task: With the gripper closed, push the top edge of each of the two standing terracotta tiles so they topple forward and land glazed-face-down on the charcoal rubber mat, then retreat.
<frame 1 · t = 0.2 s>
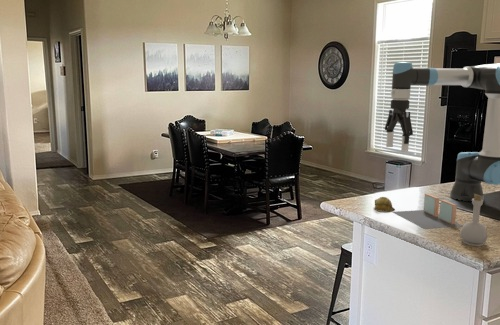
hand: (396, 149, 201), 27 cm above the countertop, fingers open, 13 cm apart
potion bottle: (473, 243, 166), on the countertop
seashell: (384, 210, 206), on the countertop
mat: (426, 220, 192), on the countertop
tile a: (430, 213, 199), point 1 cm above the countertop, touching mat
tile b: (446, 221, 189), point 1 cm above the countertop, touching mat
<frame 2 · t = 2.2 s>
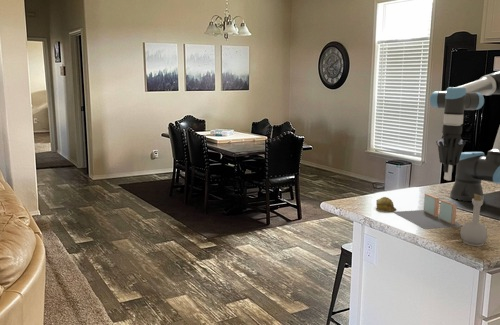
hand: (447, 179, 198), 15 cm above the countertop, fingers closed
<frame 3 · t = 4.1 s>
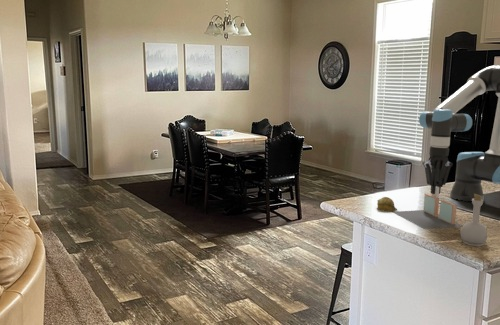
hand: (434, 201, 199), 6 cm above the countertop, fingers closed
tile a: (430, 213, 199), point 1 cm above the countertop, touching gripper, mat
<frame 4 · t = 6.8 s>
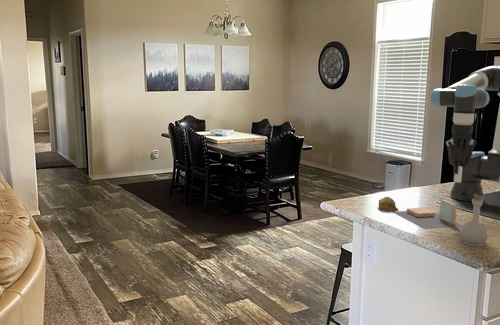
hand: (457, 181, 189), 16 cm above the countertop, fingers closed
tile a: (428, 211, 199), point 2 cm above the countertop, tilted 90°, touching mat
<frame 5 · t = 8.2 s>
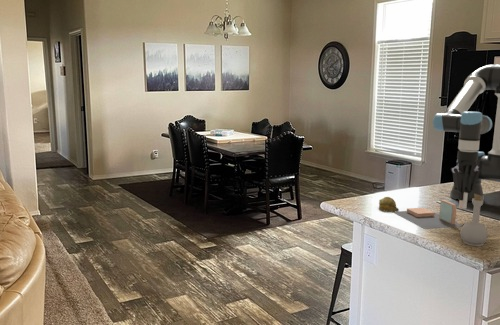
hand: (462, 207, 189), 6 cm above the countertop, fingers closed
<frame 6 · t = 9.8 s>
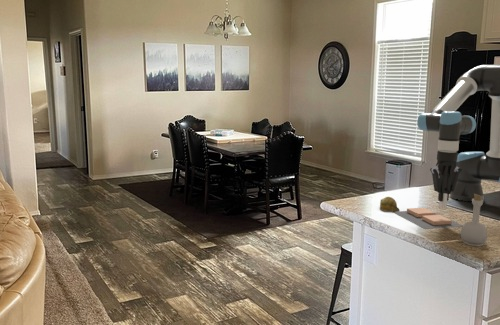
hand: (442, 208, 187), 6 cm above the countertop, fingers closed
tile b: (445, 219, 188), point 2 cm above the countertop, tilted 90°, touching mat
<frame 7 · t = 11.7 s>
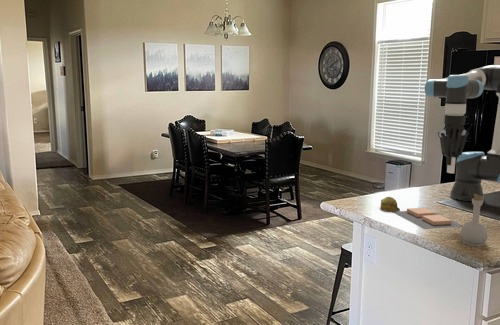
hand: (450, 172, 189), 20 cm above the countertop, fingers closed
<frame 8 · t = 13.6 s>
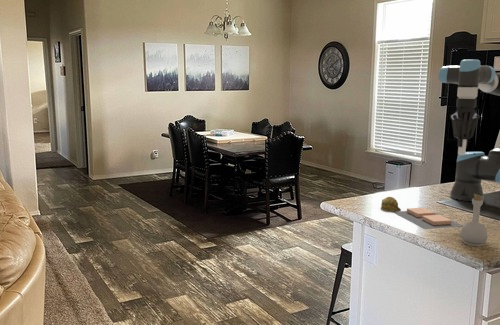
hand: (461, 154, 195), 26 cm above the countertop, fingers closed
at the end: tile a tilted 90°; tile b tilted 90°; tile a inside the target area on the mat (8.9 cm from its centre), point 1.5 cm above the mat's base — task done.
